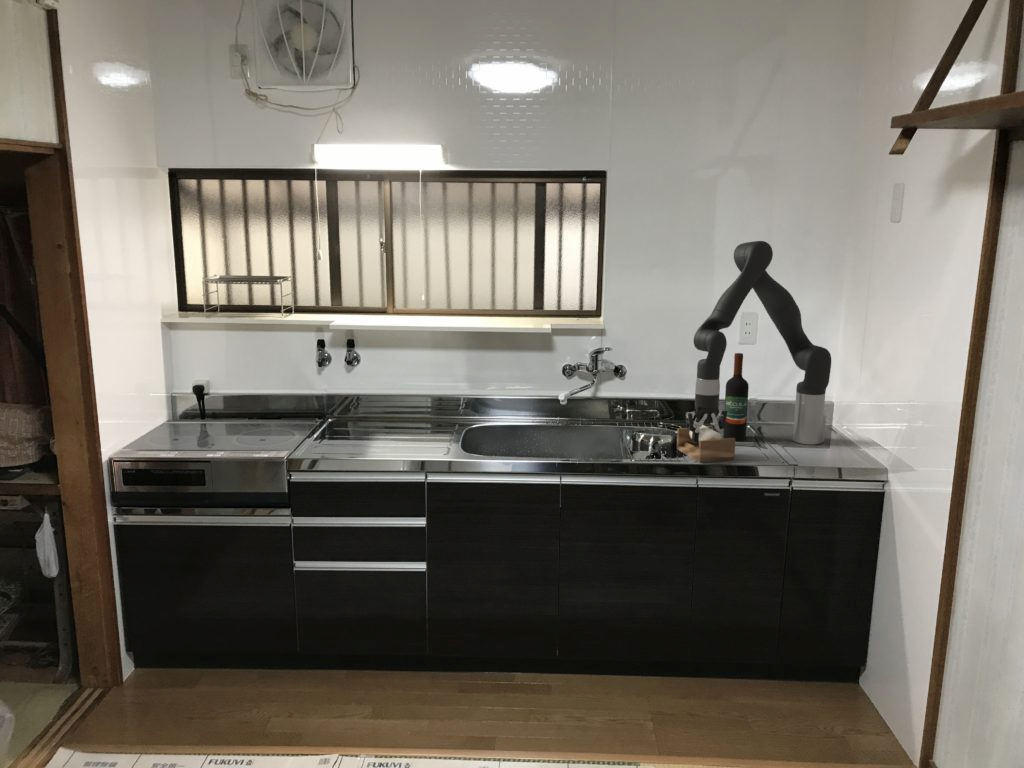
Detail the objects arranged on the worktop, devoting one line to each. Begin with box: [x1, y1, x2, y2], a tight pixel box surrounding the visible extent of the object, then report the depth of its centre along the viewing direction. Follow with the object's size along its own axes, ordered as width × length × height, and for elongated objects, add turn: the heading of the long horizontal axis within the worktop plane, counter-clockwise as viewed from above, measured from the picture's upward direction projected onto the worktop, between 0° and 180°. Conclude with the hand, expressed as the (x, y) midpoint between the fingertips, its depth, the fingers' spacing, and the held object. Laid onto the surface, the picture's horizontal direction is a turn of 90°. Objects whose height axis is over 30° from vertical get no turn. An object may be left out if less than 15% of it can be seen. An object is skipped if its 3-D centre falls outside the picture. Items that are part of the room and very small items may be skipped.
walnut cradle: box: [676, 425, 736, 463], centre depth 245 cm, size 16×12×7 cm
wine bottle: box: [722, 352, 750, 442], centre depth 260 cm, size 8×8×30 cm
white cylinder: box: [689, 424, 722, 441], centre depth 245 cm, size 10×6×6 cm
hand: (705, 442), depth 245 cm, fingers closed on white cylinder, 6 cm apart
